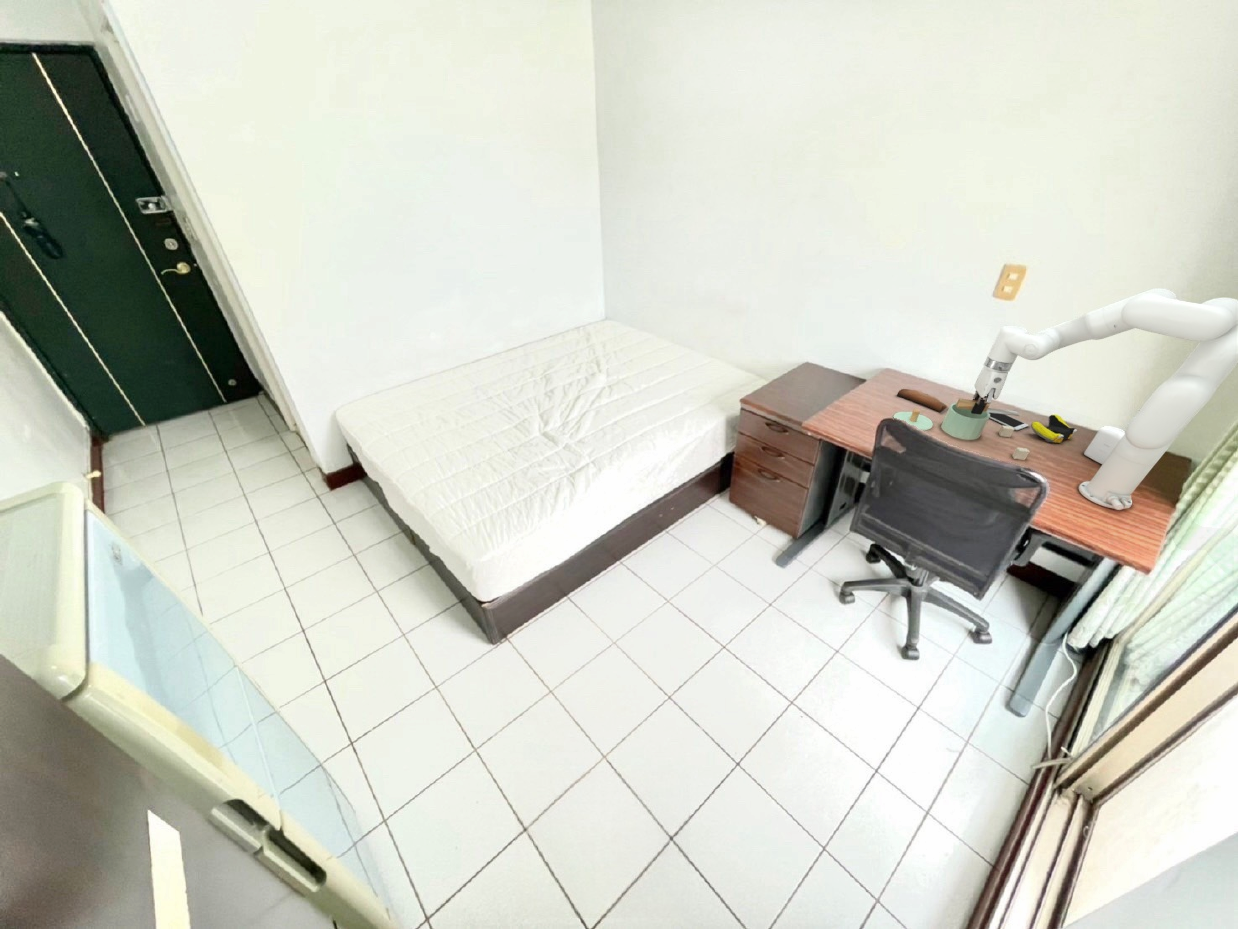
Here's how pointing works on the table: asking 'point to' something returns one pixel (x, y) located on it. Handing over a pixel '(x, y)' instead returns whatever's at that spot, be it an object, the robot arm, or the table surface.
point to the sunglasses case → (922, 399)
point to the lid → (915, 419)
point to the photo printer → (1104, 443)
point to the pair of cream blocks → (1019, 452)
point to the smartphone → (1007, 421)
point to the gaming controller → (1053, 430)
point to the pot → (964, 423)
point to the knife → (970, 404)
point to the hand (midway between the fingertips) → (974, 411)
